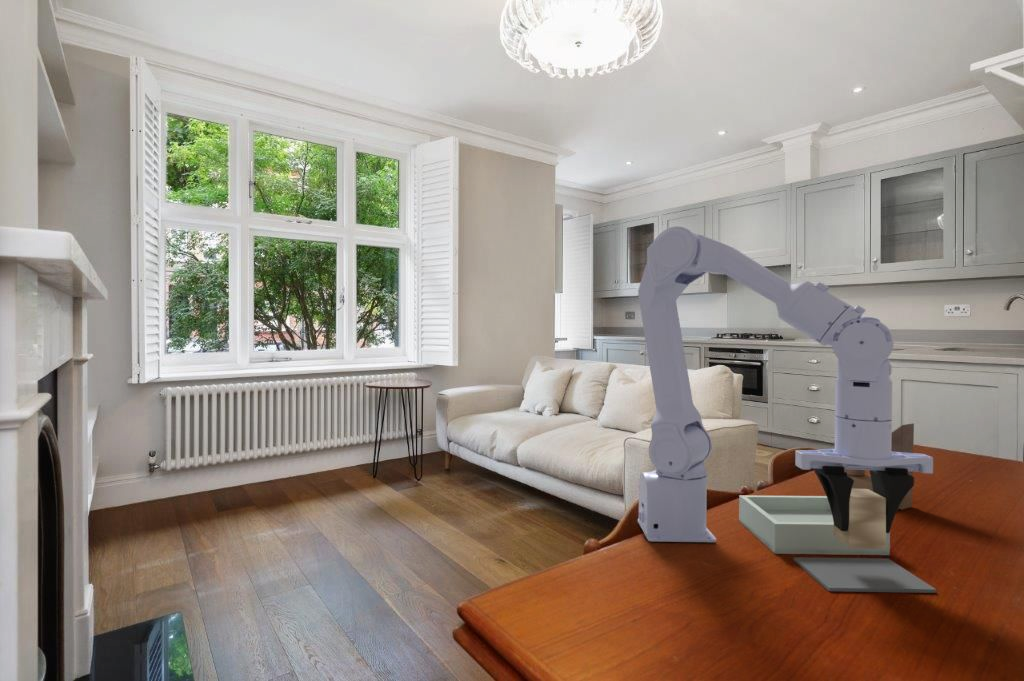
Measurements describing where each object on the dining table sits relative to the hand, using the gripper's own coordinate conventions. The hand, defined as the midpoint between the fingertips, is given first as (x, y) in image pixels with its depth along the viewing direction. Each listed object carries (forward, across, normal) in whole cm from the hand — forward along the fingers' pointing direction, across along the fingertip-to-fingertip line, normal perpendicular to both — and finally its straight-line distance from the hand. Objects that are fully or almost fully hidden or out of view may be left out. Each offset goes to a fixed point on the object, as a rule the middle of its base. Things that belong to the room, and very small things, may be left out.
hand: (861, 529), depth 64 cm
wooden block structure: (+6, -17, -31) cm, 36 cm away
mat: (+6, 0, 0) cm, 6 cm away
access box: (+6, +1, -12) cm, 13 cm away
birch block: (+2, 0, 0) cm, 2 cm away
